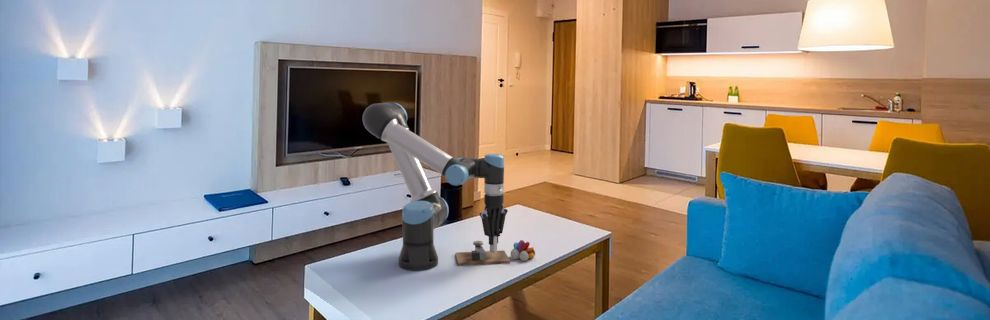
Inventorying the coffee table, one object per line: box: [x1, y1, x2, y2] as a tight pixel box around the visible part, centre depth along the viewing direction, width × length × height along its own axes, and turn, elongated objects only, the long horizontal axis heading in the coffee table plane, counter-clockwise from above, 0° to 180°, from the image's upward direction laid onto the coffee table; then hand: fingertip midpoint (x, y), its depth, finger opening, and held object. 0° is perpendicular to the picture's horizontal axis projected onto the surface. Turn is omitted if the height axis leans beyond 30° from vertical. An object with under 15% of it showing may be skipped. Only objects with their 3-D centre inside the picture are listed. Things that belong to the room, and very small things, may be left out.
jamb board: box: [455, 240, 511, 267], centre depth 211 cm, size 20×13×5 cm, turn 99°
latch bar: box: [476, 245, 486, 260], centre depth 209 cm, size 8×2×3 cm, turn 12°
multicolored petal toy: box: [510, 239, 536, 262], centre depth 212 cm, size 8×10×7 cm
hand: (493, 252), depth 211 cm, fingers closed
